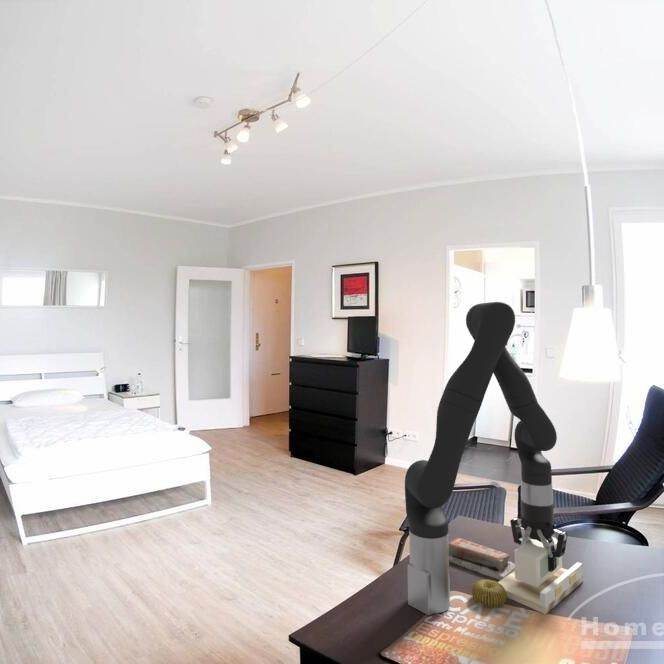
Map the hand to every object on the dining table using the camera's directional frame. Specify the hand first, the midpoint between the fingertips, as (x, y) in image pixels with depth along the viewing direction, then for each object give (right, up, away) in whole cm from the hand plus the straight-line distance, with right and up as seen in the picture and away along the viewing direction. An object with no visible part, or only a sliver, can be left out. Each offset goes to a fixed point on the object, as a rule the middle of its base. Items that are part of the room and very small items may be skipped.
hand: (539, 566), depth 118 cm
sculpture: (-15, -6, -6) cm, 17 cm away
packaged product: (-11, -6, +12) cm, 18 cm away
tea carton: (0, -2, 0) cm, 2 cm away
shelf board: (0, -5, 0) cm, 5 cm away
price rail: (+4, -3, -5) cm, 7 cm away
